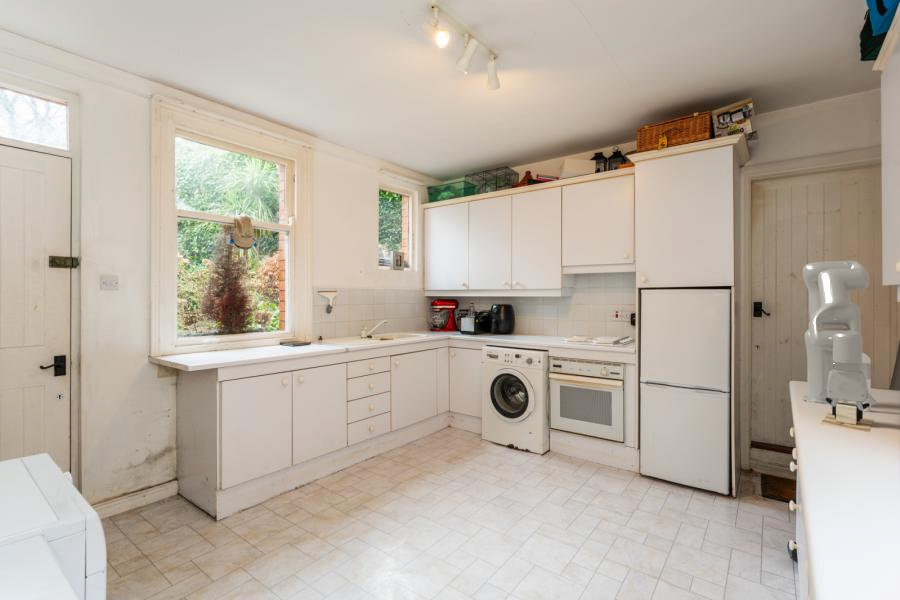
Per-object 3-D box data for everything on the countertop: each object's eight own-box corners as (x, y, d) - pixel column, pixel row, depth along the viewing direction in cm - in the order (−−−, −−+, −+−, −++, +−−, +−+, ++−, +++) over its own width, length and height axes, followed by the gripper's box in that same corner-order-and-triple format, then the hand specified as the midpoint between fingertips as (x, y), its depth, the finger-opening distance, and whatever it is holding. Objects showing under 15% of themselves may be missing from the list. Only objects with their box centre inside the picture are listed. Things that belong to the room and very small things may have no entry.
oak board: (829, 414, 159) (829, 411, 159) (874, 421, 150) (874, 418, 150) (820, 426, 145) (820, 423, 145) (869, 434, 136) (869, 431, 136)
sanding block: (839, 417, 151) (839, 401, 151) (858, 420, 148) (858, 403, 148) (836, 422, 146) (836, 404, 146) (855, 425, 142) (855, 407, 142)
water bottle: (876, 414, 159) (876, 348, 159) (857, 414, 160) (857, 348, 159) (858, 409, 166) (858, 346, 166) (841, 409, 166) (841, 346, 166)
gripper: (813, 366, 151) (813, 416, 151) (881, 372, 138) (881, 426, 138) (816, 363, 156) (817, 412, 156) (882, 369, 143) (882, 422, 143)
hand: (847, 418), depth 147 cm, fingers closed on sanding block, 5 cm apart
